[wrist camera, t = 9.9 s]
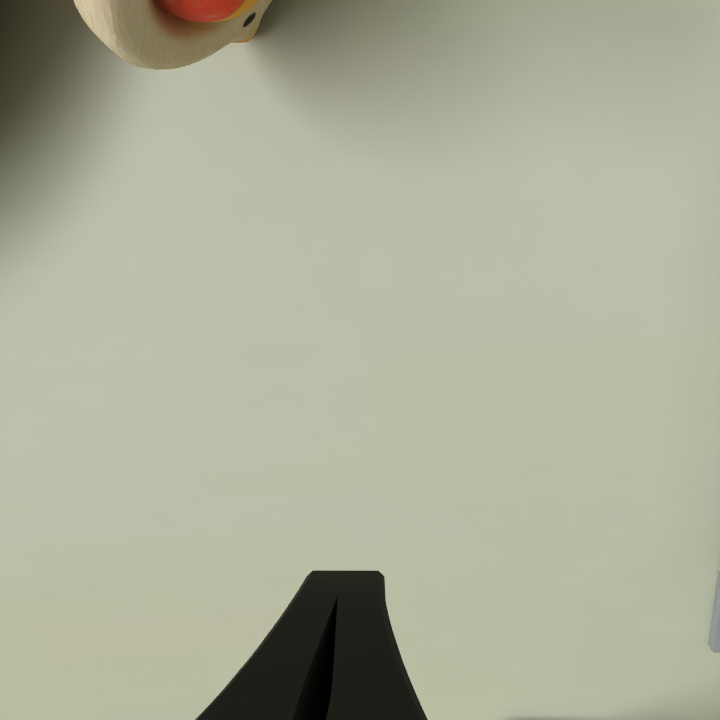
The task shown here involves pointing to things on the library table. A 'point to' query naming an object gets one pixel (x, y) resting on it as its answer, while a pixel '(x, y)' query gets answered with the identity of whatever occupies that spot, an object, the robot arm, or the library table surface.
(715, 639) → the felt mat
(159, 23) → the bird rattle
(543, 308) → the library table surface
